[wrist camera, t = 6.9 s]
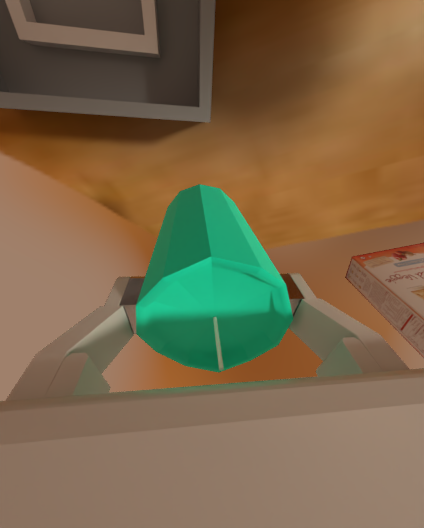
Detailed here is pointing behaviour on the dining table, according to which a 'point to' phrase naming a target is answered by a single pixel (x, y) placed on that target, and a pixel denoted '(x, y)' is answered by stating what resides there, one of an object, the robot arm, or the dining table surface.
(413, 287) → the cracker box
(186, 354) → the candle
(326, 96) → the dining table surface
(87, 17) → the walled box
